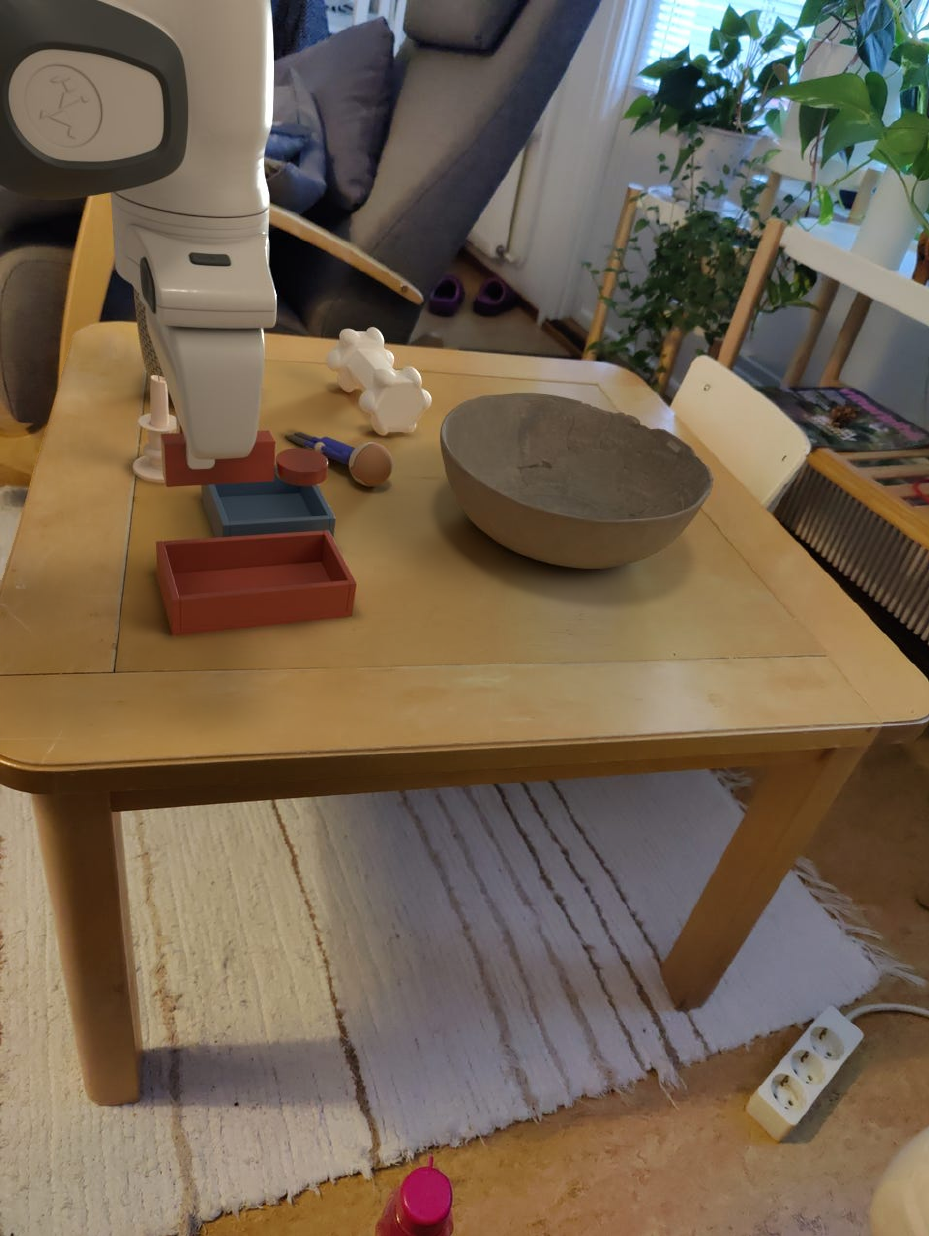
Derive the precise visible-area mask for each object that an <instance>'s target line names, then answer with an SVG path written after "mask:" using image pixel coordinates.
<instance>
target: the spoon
mask: <svg viewBox="0 0 929 1236" xmlns="http://www.w3.org/2000/svg"><path fill="white" fill-rule="evenodd" d="M161 452H162V471H163V477H164V481H165V483H164V484H165V487H166V488H173V487H175V488H176V487H192V486H193V487H194V486H201V485H213V484H231V483H250V482H268V481H274V467H275V465H276V469H275V472H276V475H277V477H278V478H279V479H280V480H282V481H284V482H286V483H289V484H292V485H297V486H313V485H320V484H323V482H325V481H326V480H327V478H328V472H329V471H328V470H329V460H328V457H326V456H324V455H323V454H321V453H319V452H317V451H315V449H311V448H310V449H309V448H301V447H296V448H295V447H293V448H287V449H284V450H281V451H280V452H279V453H277V454H276V440H275V438H274V436H273V434H272V433H271V430H269V429H268V430H267V429H266V430H258V432H257V437H256V441H255V444H254V446H253V448H252V451H251V452H250V454H249V455H248V456H246V457H243V458H231V459H215V464H214V466H213V467H212V468H209V469H191V468H189V466H188V465H187V461H186V458H185V455H184V433H177V432H175V433H173V432H171V433H168V434H161Z"/></svg>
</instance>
